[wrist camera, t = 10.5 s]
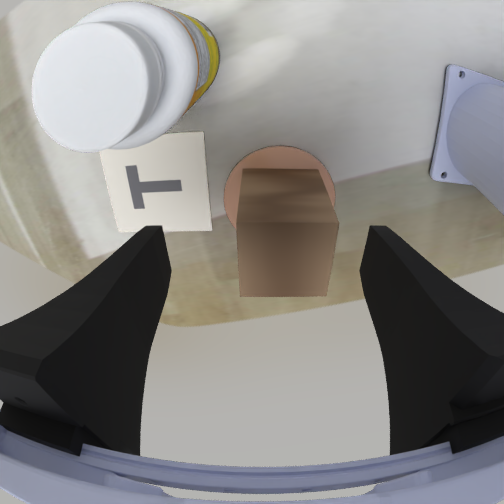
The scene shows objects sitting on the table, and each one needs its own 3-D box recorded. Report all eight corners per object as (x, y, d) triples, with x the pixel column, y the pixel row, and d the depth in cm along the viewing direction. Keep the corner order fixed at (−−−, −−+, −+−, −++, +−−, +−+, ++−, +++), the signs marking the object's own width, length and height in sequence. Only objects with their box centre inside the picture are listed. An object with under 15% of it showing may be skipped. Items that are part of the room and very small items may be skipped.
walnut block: (318, 169, 19) (339, 223, 14) (312, 231, 21) (326, 296, 17) (242, 168, 19) (236, 222, 14) (244, 231, 21) (239, 296, 17)
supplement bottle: (132, 110, 17) (32, 187, 9) (122, 24, 13) (1, 31, 5) (224, 101, 17) (188, 170, 9) (220, 9, 13) (171, -28, 5)
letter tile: (203, 131, 18) (203, 131, 18) (212, 230, 22) (212, 230, 22) (97, 141, 18) (97, 141, 18) (119, 231, 22) (118, 232, 22)
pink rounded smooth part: (338, 147, 18) (340, 150, 18) (327, 242, 22) (328, 246, 22) (221, 146, 18) (220, 148, 18) (227, 242, 23) (227, 246, 22)
